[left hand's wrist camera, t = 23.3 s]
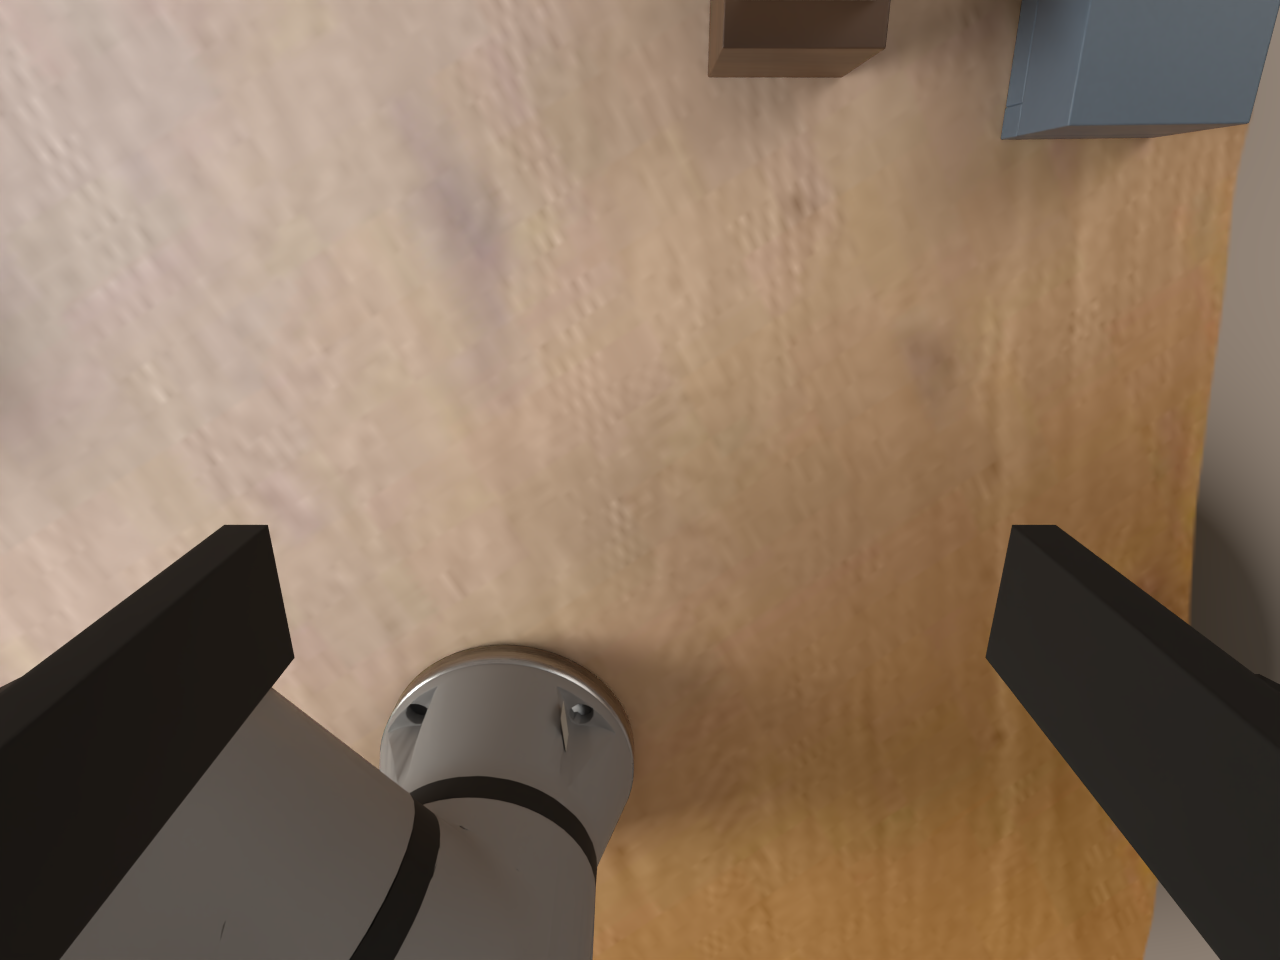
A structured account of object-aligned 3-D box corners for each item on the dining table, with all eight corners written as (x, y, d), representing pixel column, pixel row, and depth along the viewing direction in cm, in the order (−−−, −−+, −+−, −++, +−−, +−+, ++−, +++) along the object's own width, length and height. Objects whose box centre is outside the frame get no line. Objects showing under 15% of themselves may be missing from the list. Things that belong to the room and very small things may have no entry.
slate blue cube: (1153, 137, 33) (1250, 123, 27) (1000, 139, 33) (1067, 125, 27) (1193, -46, 30) (1307, -99, 25) (1027, -43, 30) (1107, -96, 25)
